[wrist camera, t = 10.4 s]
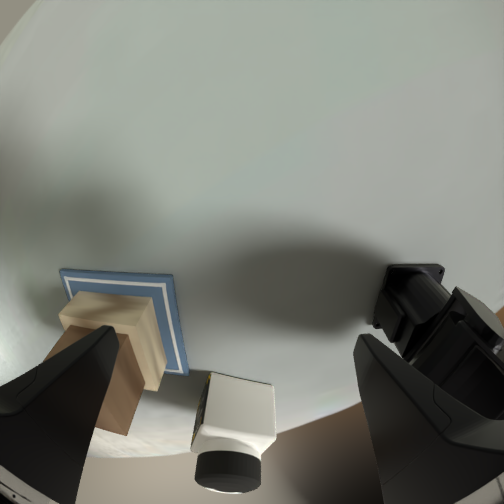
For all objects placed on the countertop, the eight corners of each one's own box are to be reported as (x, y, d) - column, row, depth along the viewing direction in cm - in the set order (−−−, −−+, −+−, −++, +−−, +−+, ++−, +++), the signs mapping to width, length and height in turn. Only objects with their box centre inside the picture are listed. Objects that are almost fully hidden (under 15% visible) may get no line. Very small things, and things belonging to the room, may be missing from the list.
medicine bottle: (210, 370, 26) (193, 473, 15) (274, 384, 27) (279, 484, 16) (198, 403, 29) (183, 489, 18) (254, 415, 30) (252, 499, 19)
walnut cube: (128, 334, 19) (98, 392, 13) (145, 383, 21) (126, 436, 16) (70, 324, 19) (35, 371, 13) (92, 371, 21) (68, 417, 16)
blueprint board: (172, 274, 22) (170, 278, 21) (189, 372, 27) (188, 376, 26) (62, 268, 22) (58, 271, 21) (95, 358, 27) (93, 361, 26)
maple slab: (151, 297, 22) (135, 326, 18) (167, 361, 25) (157, 391, 22) (79, 290, 22) (58, 314, 19) (101, 351, 25) (87, 376, 22)
